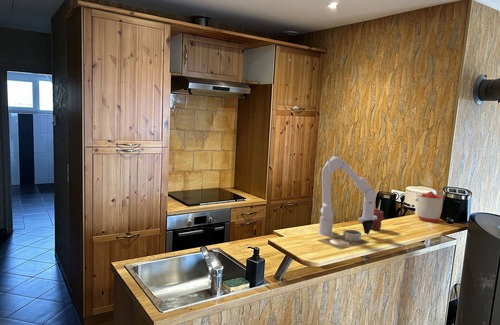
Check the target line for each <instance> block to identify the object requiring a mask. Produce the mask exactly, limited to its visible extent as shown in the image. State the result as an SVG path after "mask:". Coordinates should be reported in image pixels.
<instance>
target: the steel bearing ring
mask: <svg viewBox="0 0 500 325" xmlns="http://www.w3.org/2000/svg"><path fill="white" fill-rule="evenodd" d="M342 235H343V239H344V240H346V241H349V242H360V241H361V239H362V232H361V231H358V230H355V229H345V230H343V234H342Z"/></svg>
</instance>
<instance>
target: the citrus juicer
mask: <svg viewBox="0 0 500 325" xmlns="http://www.w3.org/2000/svg"><path fill="white" fill-rule="evenodd" d="M415 202H417V204H416V205H417V208H416V209H417V210H416V211H417V216H418V218H419V220H420V221H425V222H428V223H436V222H438V221H439V220H440V218H441V214H442V211H443V202H444V196H442V195H440V194H435V193H434V192H433V191H429V192H427V193H421V195H420V194H417V198H416V199H415Z"/></svg>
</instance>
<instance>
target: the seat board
mask: <svg viewBox="0 0 500 325" xmlns="http://www.w3.org/2000/svg"><path fill="white" fill-rule="evenodd" d="M316 242H320V243H322V244H325V245H328V246H330V247H333V248H335V249H338V250H345V249H348V248H353V247H357V246H361V245H364V244H369V243H370V240H365V239H364V238H361V241H360V242H349V241H346V240H344V239H343V234H341V235H335V236H330V237H327V238H321V239H318V240H317V241H316Z"/></svg>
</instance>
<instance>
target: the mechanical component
mask: <svg viewBox="0 0 500 325" xmlns="http://www.w3.org/2000/svg"><path fill="white" fill-rule="evenodd" d="M374 215H375V216H377V220H372V221H374V224H373V225H372V227H371V229H370V231H380V230H381V229H382V221H384V220H385V216H384V211H382V210H380V209H379V208H374ZM374 215H373V216H374Z"/></svg>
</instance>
